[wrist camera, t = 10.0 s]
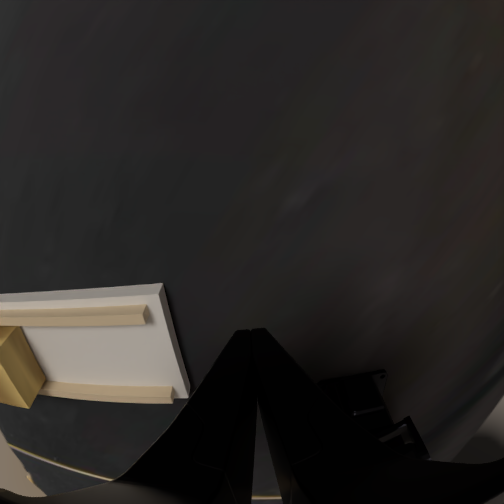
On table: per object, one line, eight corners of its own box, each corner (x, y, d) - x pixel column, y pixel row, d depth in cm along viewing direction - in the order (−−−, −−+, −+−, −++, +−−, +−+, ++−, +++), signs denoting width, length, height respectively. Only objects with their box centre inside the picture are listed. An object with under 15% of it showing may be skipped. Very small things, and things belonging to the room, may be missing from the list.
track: (162, 282, 22) (144, 330, 17) (190, 385, 26) (183, 436, 21) (-36, 295, 22) (-67, 325, 17) (4, 374, 25) (-18, 407, 20)
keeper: (18, 324, 21) (-5, 353, 17) (46, 378, 23) (29, 408, 20) (-23, 322, 21) (-45, 347, 17) (4, 372, 23) (-13, 399, 19)
